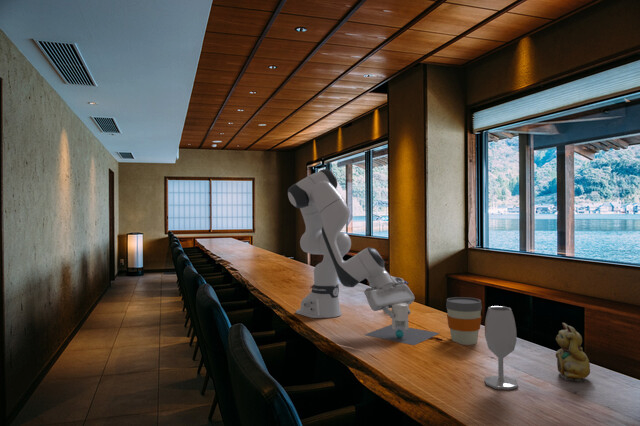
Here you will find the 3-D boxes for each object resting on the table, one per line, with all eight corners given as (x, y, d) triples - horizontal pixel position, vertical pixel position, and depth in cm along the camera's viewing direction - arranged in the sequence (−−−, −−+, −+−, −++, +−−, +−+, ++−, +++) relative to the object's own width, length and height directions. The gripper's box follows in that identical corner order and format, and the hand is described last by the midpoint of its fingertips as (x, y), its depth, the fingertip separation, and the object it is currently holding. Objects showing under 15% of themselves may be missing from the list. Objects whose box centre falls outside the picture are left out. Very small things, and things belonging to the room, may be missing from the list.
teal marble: (394, 337, 171) (393, 329, 170) (398, 336, 173) (398, 328, 173) (401, 339, 169) (400, 331, 169) (405, 337, 171) (405, 329, 171)
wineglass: (478, 379, 129) (477, 305, 129) (508, 377, 130) (507, 304, 130) (493, 391, 120) (491, 312, 120) (524, 389, 121) (523, 311, 121)
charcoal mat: (363, 336, 175) (363, 334, 175) (391, 325, 191) (391, 324, 190) (414, 346, 161) (414, 345, 161) (440, 334, 176) (440, 333, 176)
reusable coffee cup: (444, 344, 163) (444, 302, 163) (448, 335, 175) (447, 296, 175) (481, 347, 158) (481, 304, 158) (483, 338, 170) (482, 298, 170)
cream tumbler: (389, 328, 171) (388, 304, 171) (397, 325, 175) (397, 302, 175) (403, 331, 167) (402, 306, 167) (411, 327, 171) (410, 303, 171)
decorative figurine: (551, 371, 135) (551, 320, 135) (581, 371, 134) (580, 320, 134) (565, 383, 125) (565, 328, 125) (597, 384, 124) (596, 329, 124)
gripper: (366, 284, 171) (383, 315, 163) (406, 278, 182) (424, 306, 174) (358, 294, 175) (376, 324, 167) (398, 287, 186) (416, 316, 178)
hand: (401, 315), depth 171 cm, fingers closed on cream tumbler, 6 cm apart
